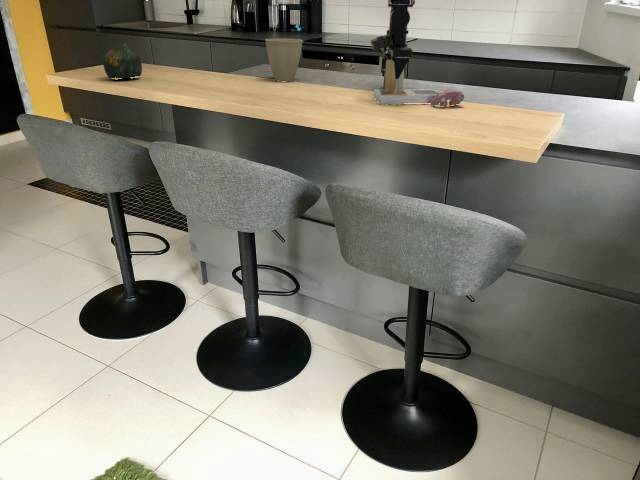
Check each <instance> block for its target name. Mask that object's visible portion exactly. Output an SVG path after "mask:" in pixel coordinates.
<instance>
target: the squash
mask: <svg viewBox="0 0 640 480" xmlns="http://www.w3.org/2000/svg"><path fill="white" fill-rule="evenodd" d="M102 58H103V59H102V64H103V69H104V73H105V75H106V76H107V78H109V79H110V78H115V77H116V78H124V77H125V78H130V77H135V76H140V77H141V75H142V72H143V65H142V64H143V63H142V60H141V58H140V56H139V54H138V53H137V52H136V51H135V49H134V48H133V47H132V46H131V44H130V43H129V42H127V41H125V42H121V43H118V44H117V45H115V46H113V47H112V48H110V49H108V50H107V51H106V52H105V53H104V55H103V57H102ZM125 78H124V79H125Z"/></svg>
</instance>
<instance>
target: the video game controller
mask: <svg viewBox="0 0 640 480" xmlns="http://www.w3.org/2000/svg"><path fill="white" fill-rule="evenodd" d="M448 100H449V102H448ZM464 100H465V94H464V93H463V92H462V91H461V90H460V89H458V90H457V89H452V88H450V89H445V90H440V91H439V93H438V94H437V95H436V96H435V97H434V98H433V99H432V101H431V105H436V106H438V105H437V104H439V103H440V105H439V106H440V107H441V106H446V107H448V105H449V107H450V106H451V105H455V106H457V105H456V104H458V105H459V104H460V103H462V102H463V101H464ZM431 105H430V106H431Z"/></svg>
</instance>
